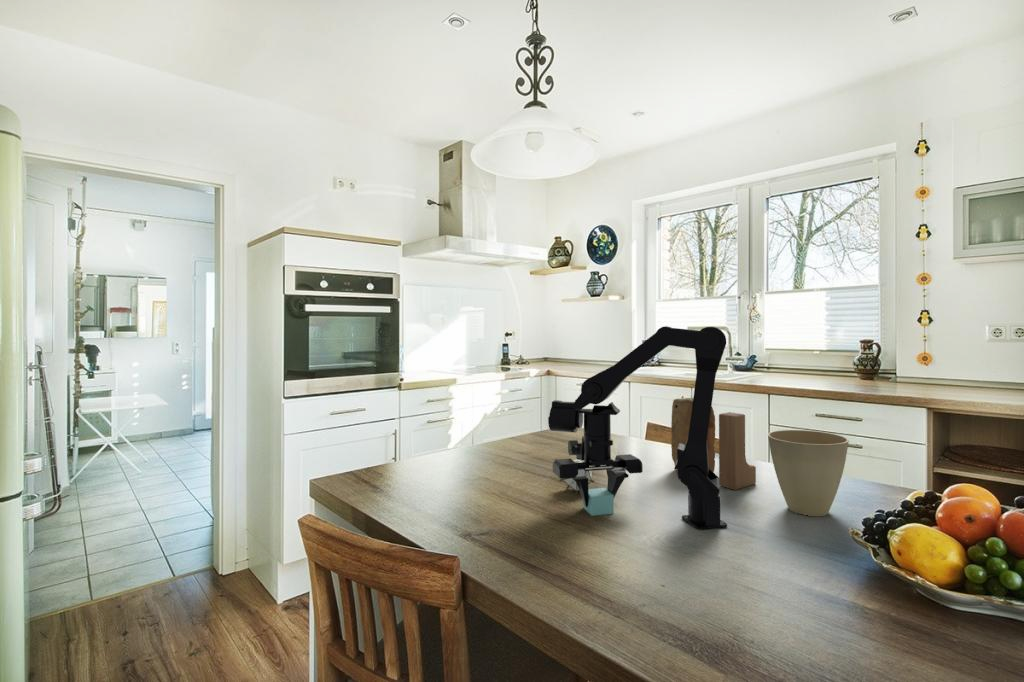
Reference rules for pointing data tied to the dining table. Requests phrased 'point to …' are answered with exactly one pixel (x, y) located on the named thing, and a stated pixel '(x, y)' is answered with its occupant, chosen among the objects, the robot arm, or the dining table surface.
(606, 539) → the dining table surface
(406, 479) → the dining table surface
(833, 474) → the plant pot
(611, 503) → the teal block
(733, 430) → the wooden block
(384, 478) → the dining table surface
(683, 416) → the wooden upright piece
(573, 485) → the game die
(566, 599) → the dining table surface
